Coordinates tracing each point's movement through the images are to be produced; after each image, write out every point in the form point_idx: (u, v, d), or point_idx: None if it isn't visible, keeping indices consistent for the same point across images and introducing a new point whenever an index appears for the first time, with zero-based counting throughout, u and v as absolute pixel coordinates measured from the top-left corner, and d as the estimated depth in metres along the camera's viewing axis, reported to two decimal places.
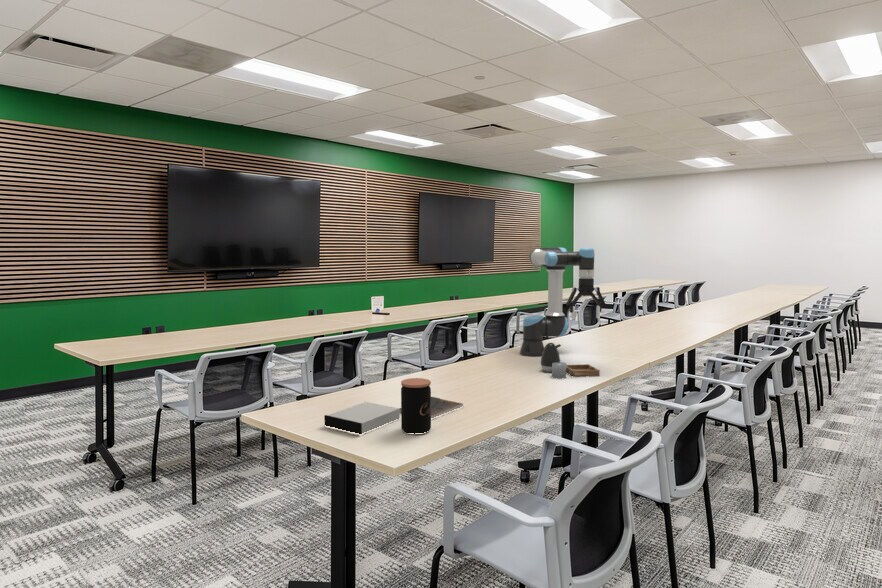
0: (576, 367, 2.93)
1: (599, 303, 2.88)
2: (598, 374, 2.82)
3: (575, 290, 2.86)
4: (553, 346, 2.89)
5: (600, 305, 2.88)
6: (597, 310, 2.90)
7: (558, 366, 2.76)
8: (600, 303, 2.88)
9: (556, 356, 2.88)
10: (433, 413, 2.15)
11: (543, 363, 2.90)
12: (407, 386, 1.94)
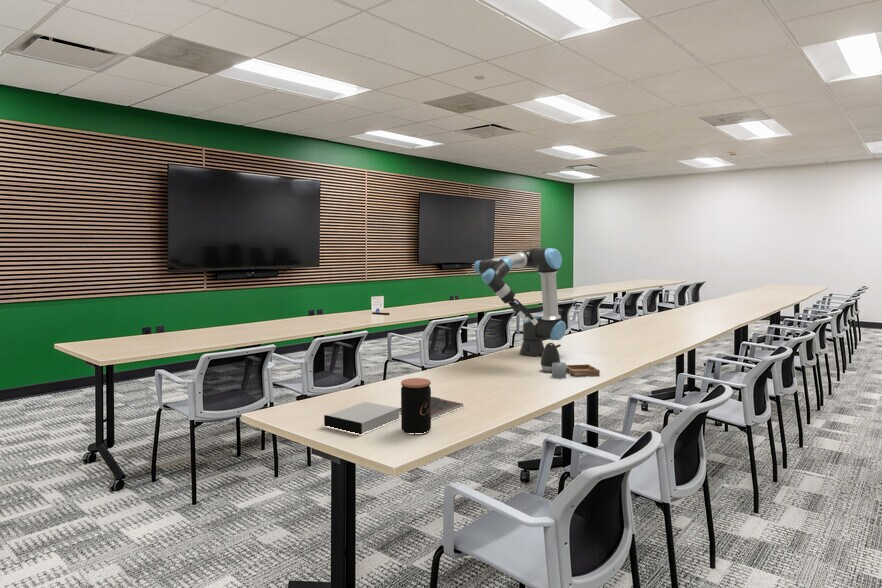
0: (576, 367, 2.93)
1: (524, 314, 2.86)
2: (598, 374, 2.82)
3: (508, 302, 2.98)
4: (553, 346, 2.89)
5: (526, 316, 2.86)
6: None
7: (558, 366, 2.76)
8: (525, 314, 2.86)
9: (556, 356, 2.88)
10: (433, 413, 2.15)
11: (543, 363, 2.90)
12: (407, 386, 1.94)
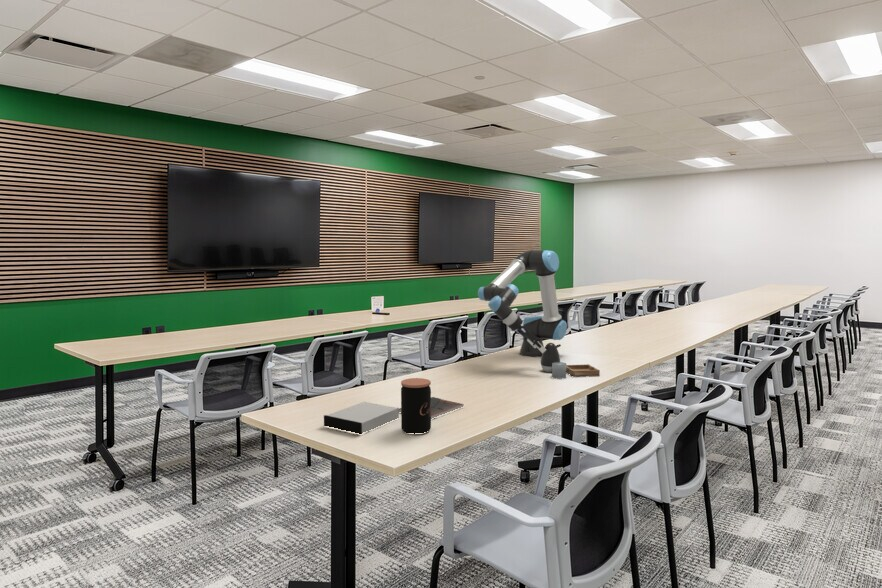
0: (576, 367, 2.93)
1: (532, 342, 2.82)
2: (598, 374, 2.82)
3: None
4: (553, 346, 2.89)
5: None
6: None
7: (558, 366, 2.76)
8: (532, 342, 2.82)
9: (556, 356, 2.88)
10: (433, 413, 2.15)
11: (543, 363, 2.90)
12: (407, 386, 1.94)
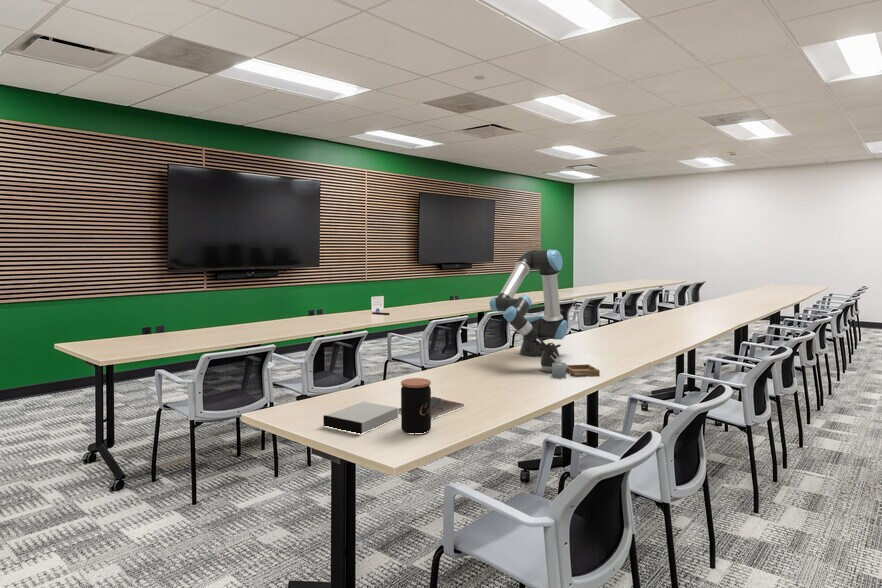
0: (576, 367, 2.93)
1: None
2: (598, 374, 2.82)
3: (531, 339, 2.96)
4: (553, 346, 2.89)
5: (549, 354, 2.86)
6: None
7: (558, 366, 2.76)
8: (548, 353, 2.86)
9: None
10: (433, 413, 2.15)
11: (543, 363, 2.90)
12: (407, 386, 1.94)
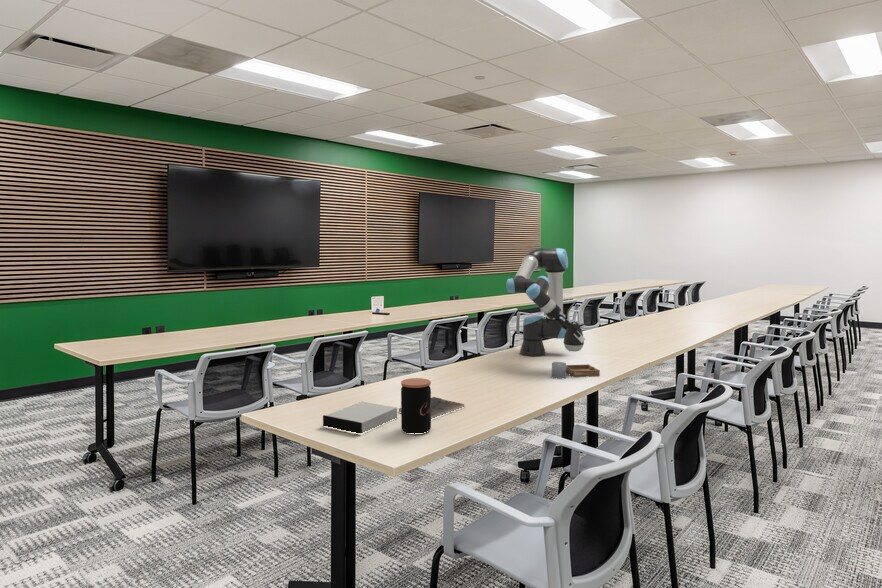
0: (576, 367, 2.93)
1: (571, 331, 2.80)
2: (598, 374, 2.82)
3: (554, 318, 2.90)
4: (577, 324, 2.83)
5: None
6: None
7: (558, 366, 2.76)
8: None
9: None
10: (433, 413, 2.15)
11: (566, 342, 2.84)
12: (407, 386, 1.94)
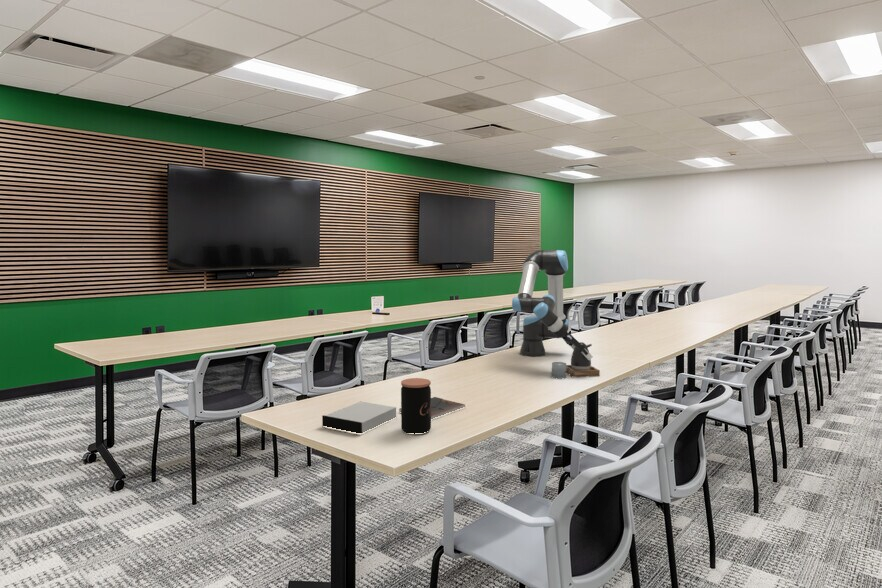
0: None
1: None
2: (598, 374, 2.82)
3: None
4: (584, 345, 2.84)
5: None
6: None
7: (558, 366, 2.76)
8: (579, 349, 2.79)
9: None
10: (434, 413, 2.14)
11: (574, 363, 2.85)
12: (407, 386, 1.94)
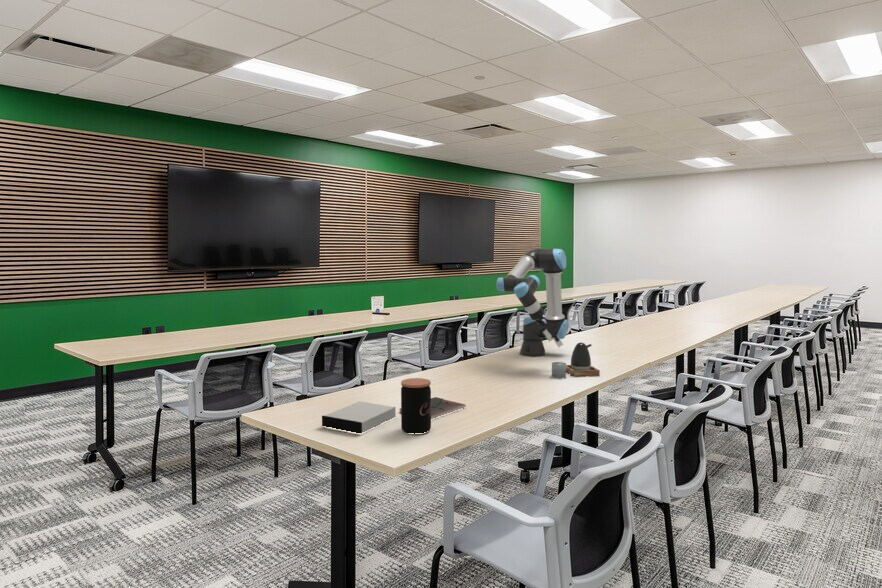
0: None
1: (551, 334, 2.80)
2: (598, 374, 2.82)
3: None
4: (584, 345, 2.84)
5: (552, 336, 2.79)
6: None
7: (558, 366, 2.76)
8: (551, 335, 2.79)
9: (587, 355, 2.83)
10: (434, 413, 2.14)
11: (573, 363, 2.84)
12: (407, 386, 1.94)
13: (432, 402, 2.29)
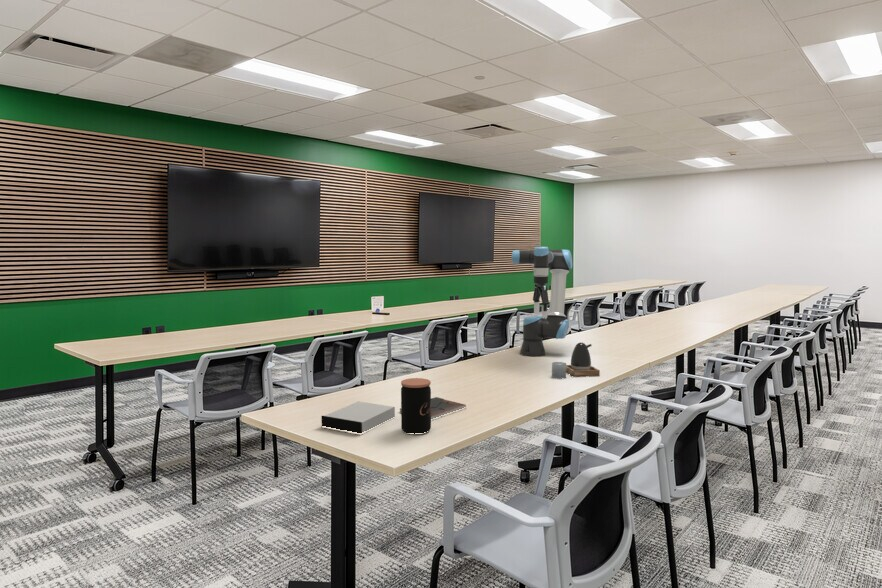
0: None
1: (542, 302, 2.88)
2: (598, 374, 2.82)
3: (535, 287, 3.00)
4: (584, 345, 2.84)
5: None
6: None
7: (559, 366, 2.76)
8: (542, 302, 2.87)
9: (587, 355, 2.83)
10: (434, 414, 2.14)
11: (573, 363, 2.84)
12: (407, 386, 1.94)
13: (432, 402, 2.29)
